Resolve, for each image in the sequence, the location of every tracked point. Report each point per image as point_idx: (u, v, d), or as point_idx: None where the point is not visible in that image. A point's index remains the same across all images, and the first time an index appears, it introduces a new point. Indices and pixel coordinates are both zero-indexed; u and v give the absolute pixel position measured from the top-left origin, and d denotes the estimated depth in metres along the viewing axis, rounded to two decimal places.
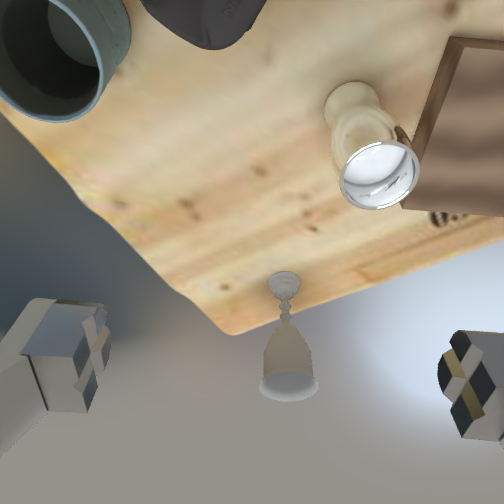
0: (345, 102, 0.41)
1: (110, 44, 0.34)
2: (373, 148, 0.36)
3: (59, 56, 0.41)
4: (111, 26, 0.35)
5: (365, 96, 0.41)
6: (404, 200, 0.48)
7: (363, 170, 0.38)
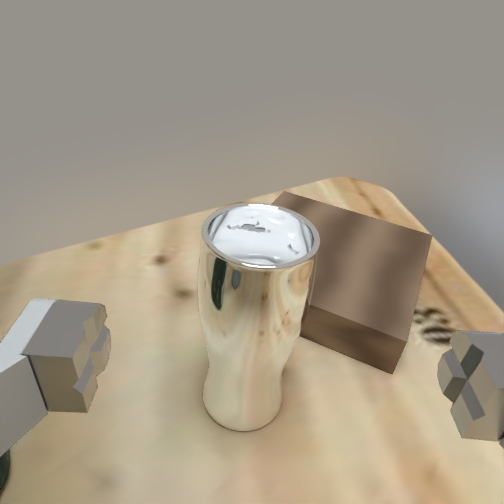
0: (209, 366, 0.28)
1: None
2: None
3: None
4: None
5: None
6: (392, 339, 0.32)
7: None
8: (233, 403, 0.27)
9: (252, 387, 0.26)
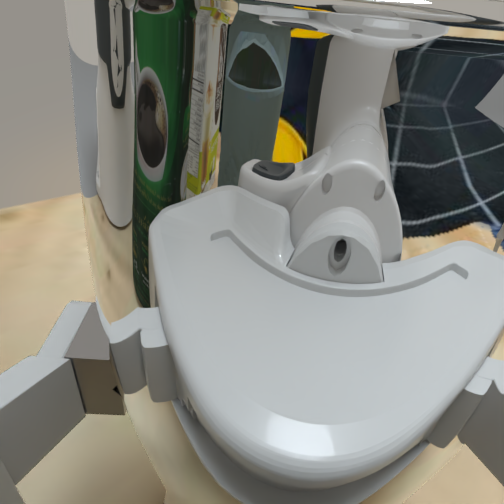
0: None
1: None
2: None
3: None
4: None
5: None
6: None
7: None
8: None
9: None
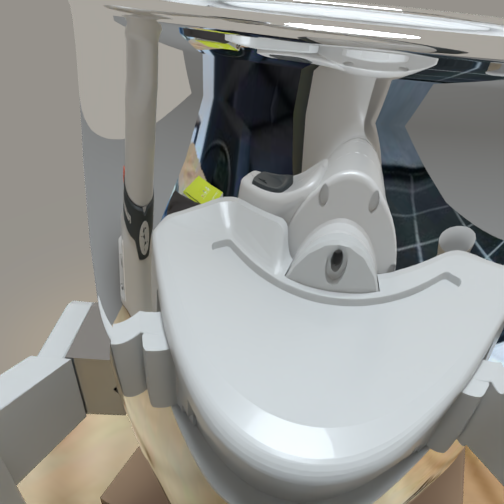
0: None
1: None
2: None
3: None
4: None
5: None
6: None
7: None
8: None
9: None
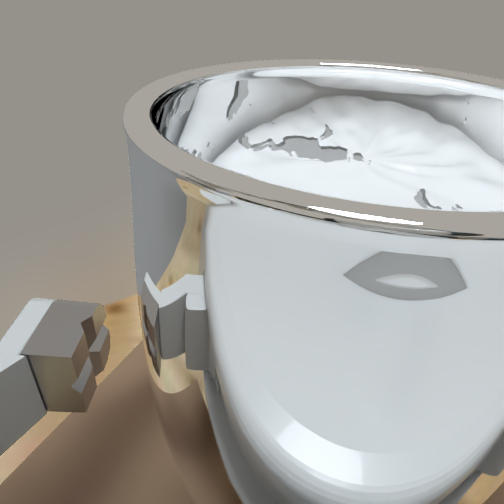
0: None
1: None
2: None
3: None
4: None
5: None
6: None
7: None
8: None
9: None
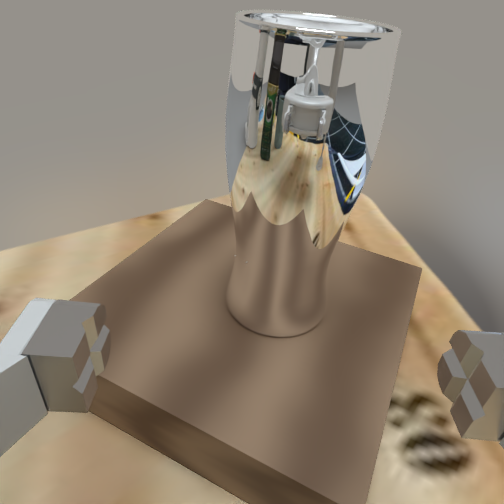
0: (236, 251, 0.22)
1: None
2: None
3: None
4: None
5: None
6: None
7: None
8: (267, 295, 0.21)
9: (295, 268, 0.20)
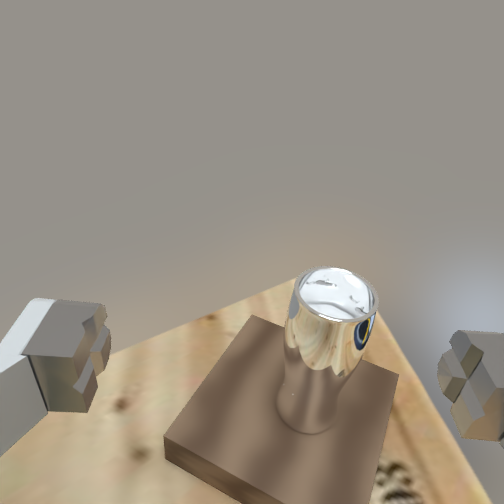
0: (285, 384, 0.37)
1: None
2: None
3: None
4: None
5: None
6: None
7: None
8: (304, 412, 0.36)
9: (321, 401, 0.35)
